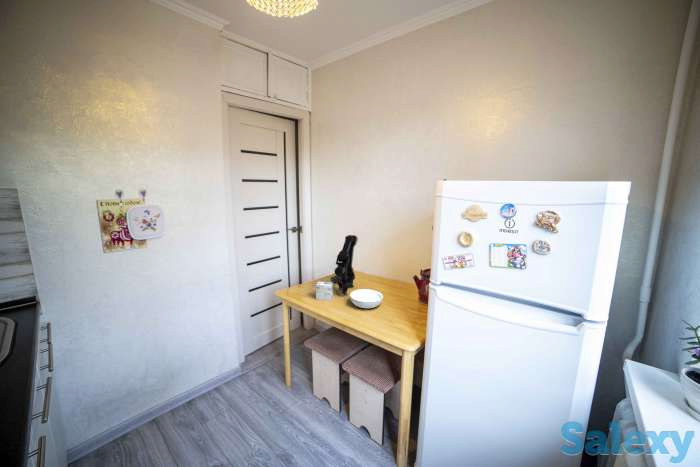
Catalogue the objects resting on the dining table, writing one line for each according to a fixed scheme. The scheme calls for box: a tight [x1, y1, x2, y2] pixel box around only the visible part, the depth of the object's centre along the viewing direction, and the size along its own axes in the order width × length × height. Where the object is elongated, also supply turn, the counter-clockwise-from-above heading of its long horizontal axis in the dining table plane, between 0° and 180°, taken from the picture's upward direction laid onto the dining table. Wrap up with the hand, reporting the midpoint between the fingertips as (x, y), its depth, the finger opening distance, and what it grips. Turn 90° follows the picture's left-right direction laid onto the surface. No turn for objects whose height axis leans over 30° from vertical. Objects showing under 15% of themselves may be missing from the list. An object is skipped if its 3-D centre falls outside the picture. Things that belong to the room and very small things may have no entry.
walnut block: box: [337, 287, 348, 297], centre depth 192 cm, size 5×5×4 cm
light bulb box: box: [315, 281, 334, 301], centre depth 184 cm, size 11×7×11 cm, turn 84°
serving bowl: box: [349, 288, 384, 309], centre depth 176 cm, size 21×21×7 cm
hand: (342, 292), depth 192 cm, fingers closed on walnut block, 5 cm apart
